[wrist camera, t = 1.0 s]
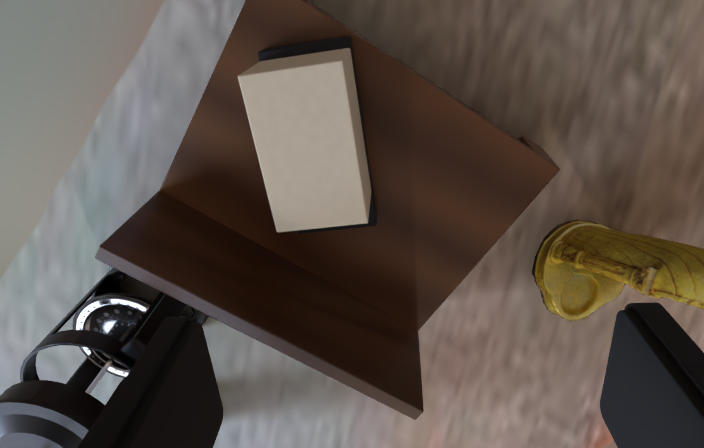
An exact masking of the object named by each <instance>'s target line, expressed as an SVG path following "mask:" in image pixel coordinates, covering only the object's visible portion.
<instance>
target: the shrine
mask: <svg viewBox="0 0 704 448" xmlns="http://www.w3.org/2000/svg"><path fill="white" fill-rule="evenodd" d="M532 274H533V276H534V279H535V282H536V284H537V285H538V287H539V288H540V290H541V295H542V298H543V303H544V304H545V306H546V308H547V309H548V310H549V311H550V312H552V313H554V314H556V315H560V316H561V317H562V318H565V319H566V320H568V321H577V320H580V319H584V318H586V317H588V316H589V315H590V314H592V313H593V312H595V311H596V310H597V309H598V308H599V307H600V306H601V305H603V304H605V303H607V302H608V301H611V300H613V299H615V298H616V297H617V296H618V294H620V293H621V291H622V289H623V287H624V285H625V284H626V283H627V284H629V285H630V286H631V287H632V288H635V289H636V290H638V291H640V293H642V294H643V295H648V296H651V297H655V298H663V297H669V298H670V299H673V300H675V301H677V302H684V303H687V304H688V305H694V306H698V307H700V308H701V309H704V249H702V248H698V247H695V246H691V245H688V244H683V243H679V242H673V241H668V240H664V239H660V238H655V237H649V236H643V235H635V234H629V233H625V232H620V231H616V230H612V229H610V228H608V227H607V226H604V225H602V224H597V223H594V222H590V221H578V220H574V221H569V222H566V223H563V224H560V225H557V227H555V228H554V229H553V230H552V231H551V232H549V233H548V234H547V235H546V237H545V238H544V239H543V241H542V243H541V245H540V247H539V250H538V252H537V254H536V256H535V260H534V265H533V269H532Z"/></svg>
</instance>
